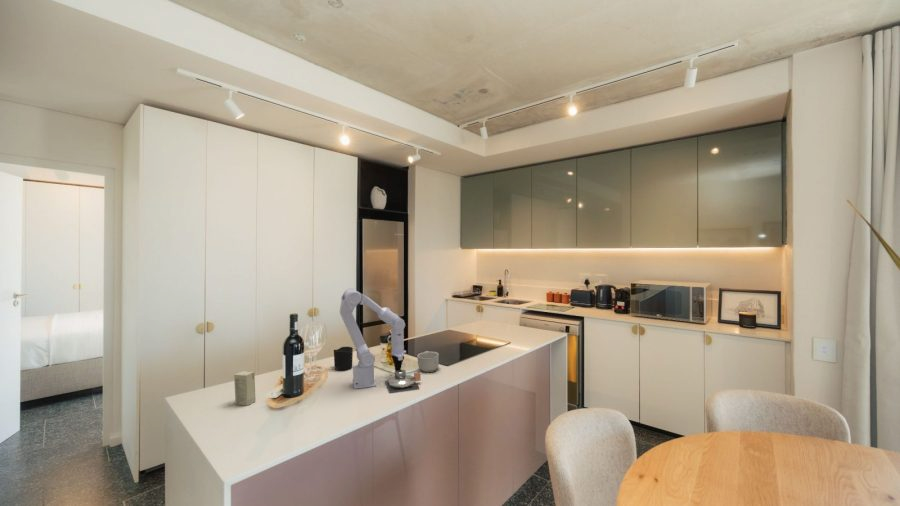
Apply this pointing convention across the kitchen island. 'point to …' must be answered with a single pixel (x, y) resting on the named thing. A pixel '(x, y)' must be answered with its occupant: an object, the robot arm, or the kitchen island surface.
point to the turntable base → (394, 389)
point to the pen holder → (343, 358)
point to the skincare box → (244, 388)
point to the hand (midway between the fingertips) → (397, 371)
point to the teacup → (428, 361)
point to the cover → (400, 374)
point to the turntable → (404, 380)
